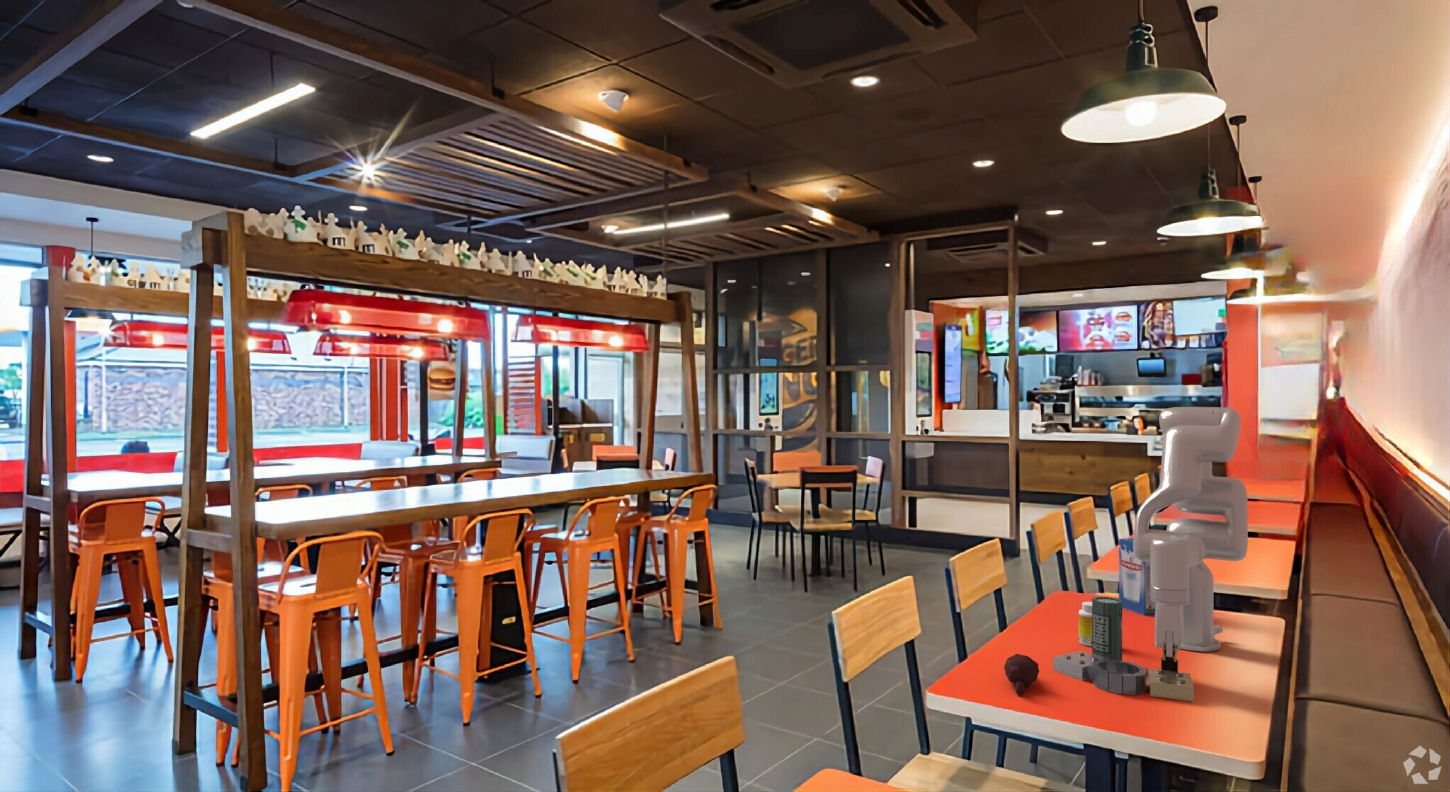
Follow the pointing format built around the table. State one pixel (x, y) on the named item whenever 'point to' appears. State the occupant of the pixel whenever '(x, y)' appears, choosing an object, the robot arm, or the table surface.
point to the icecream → (1021, 671)
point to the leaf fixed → (1103, 672)
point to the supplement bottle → (1085, 624)
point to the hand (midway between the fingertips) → (1169, 677)
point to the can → (1107, 628)
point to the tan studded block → (1170, 684)
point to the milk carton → (1134, 580)
